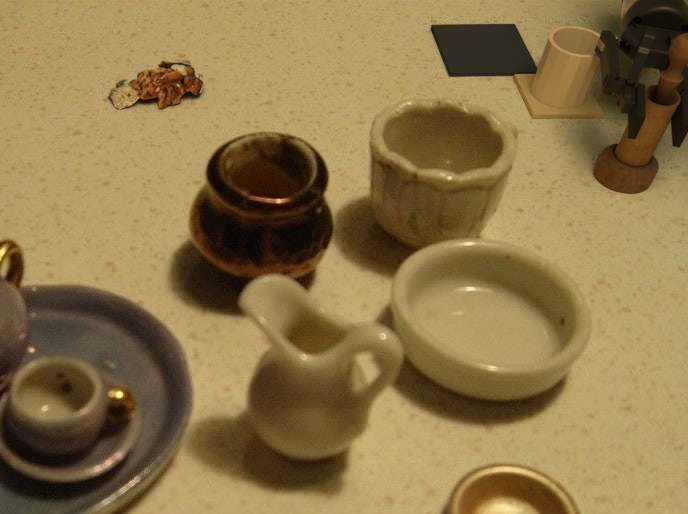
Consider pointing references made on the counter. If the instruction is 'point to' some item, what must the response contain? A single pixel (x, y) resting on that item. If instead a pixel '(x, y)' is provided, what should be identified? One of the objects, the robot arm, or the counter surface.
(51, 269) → the counter surface
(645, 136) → the mortar and pestle
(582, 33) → the cream cup
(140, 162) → the counter surface
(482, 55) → the slate mat
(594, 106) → the cream mat
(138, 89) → the pastry
